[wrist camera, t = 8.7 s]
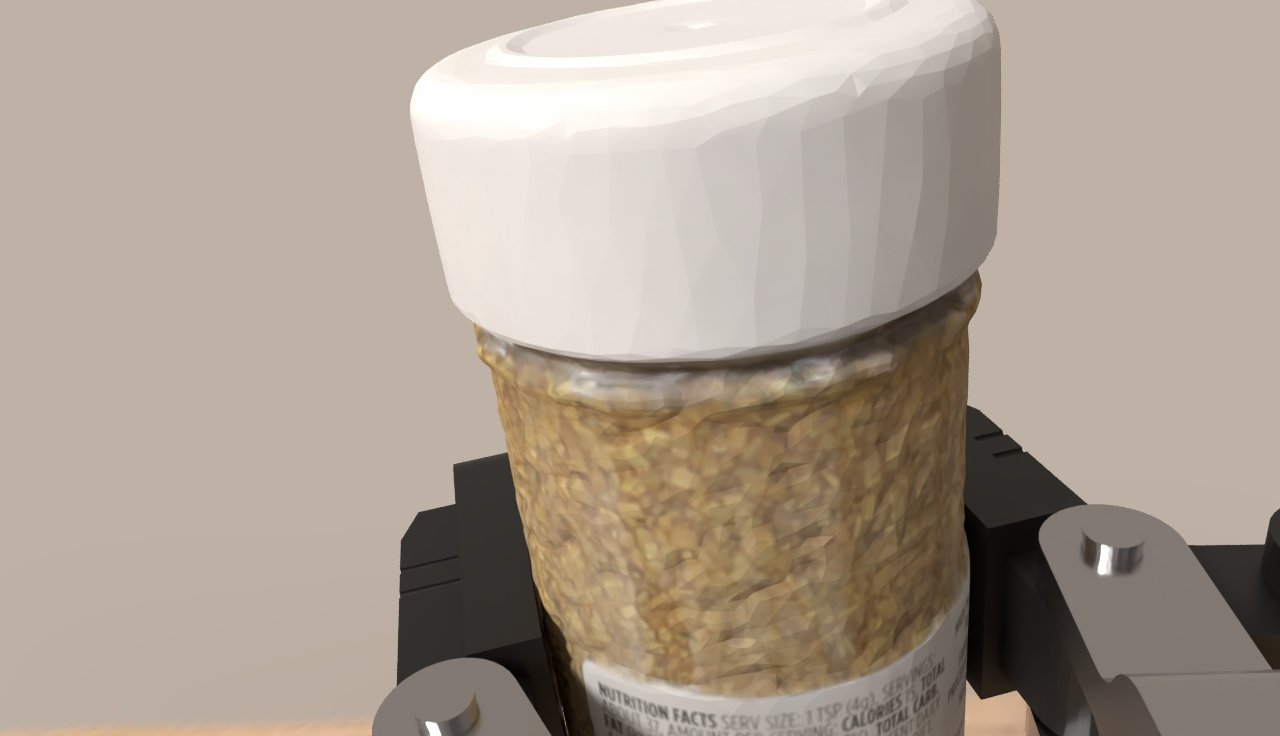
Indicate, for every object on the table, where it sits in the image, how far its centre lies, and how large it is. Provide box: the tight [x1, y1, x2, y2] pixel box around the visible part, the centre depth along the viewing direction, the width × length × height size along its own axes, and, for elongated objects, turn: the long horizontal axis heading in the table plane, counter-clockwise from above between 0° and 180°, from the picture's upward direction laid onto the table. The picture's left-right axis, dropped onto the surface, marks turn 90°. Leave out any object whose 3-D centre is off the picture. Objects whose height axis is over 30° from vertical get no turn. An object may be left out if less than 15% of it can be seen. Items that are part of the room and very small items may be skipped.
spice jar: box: [410, 0, 1001, 736], centre depth 10 cm, size 5×5×14 cm
